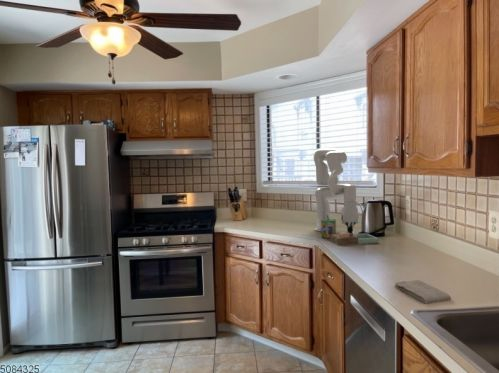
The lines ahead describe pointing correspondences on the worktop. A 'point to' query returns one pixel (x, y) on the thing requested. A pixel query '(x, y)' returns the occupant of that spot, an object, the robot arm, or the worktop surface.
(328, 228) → the chalk box
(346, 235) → the terracotta block
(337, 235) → the walnut board
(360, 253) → the worktop surface
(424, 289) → the washcloth
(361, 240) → the box
